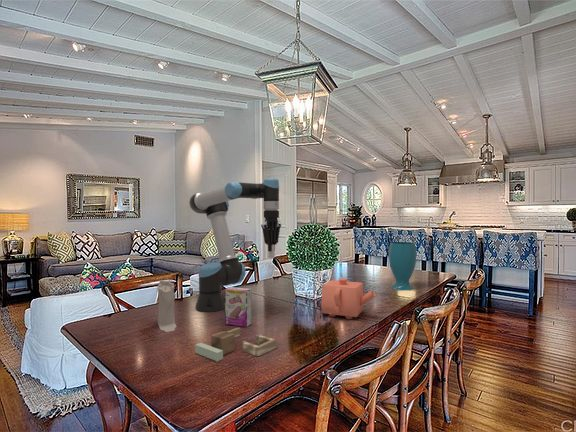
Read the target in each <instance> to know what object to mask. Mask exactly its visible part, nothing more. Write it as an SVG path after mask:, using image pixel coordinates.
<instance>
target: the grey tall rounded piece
mask: <svg viewBox="0 0 576 432" xmlns="http://www.w3.org/2000/svg"><path fill="white" fill-rule="evenodd" d="M158 282H159V283H158V285H157V297H158V312H157V313H158V315H157V326H158V328H159V330H160V331H164V332H165V333H168V332H174V331H176V330H175V329H176V328H177V324H176V319H175V283H174V282H171V281H170V280H159V281H158Z"/></svg>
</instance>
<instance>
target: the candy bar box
mask: <svg viewBox="0 0 576 432" xmlns="http://www.w3.org/2000/svg"><path fill="white" fill-rule="evenodd" d="M224 291H225V292H224V299H225V300H224V302H225V308H224V310H225V311H224V317H225V318H224V325H228V326H235V327H240V328H241V327H243V328H248V327H249V326H250V325H252V288H245V287H234V286H229V287H226V288H225V289H224Z"/></svg>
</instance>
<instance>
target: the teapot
mask: <svg viewBox="0 0 576 432" xmlns="http://www.w3.org/2000/svg"><path fill="white" fill-rule="evenodd" d="M376 296H377V295H376V293H375V292H374V291H373V290H370V291H368V292H367V293H365V294H364V283H363V282H360V281H359V282H358V281H356V282H355V281H348V279H347V278H346V277H345V278H344V277H341V278H338V280H332V279H331V280H329V281H327V282H325V284H323V285H322V287H321V303H320V304H321V313H322V314H326V315H327V314H328V317H330V318H335V317H336V316H341V317H342V316H343V317H345V319H346V320H352V319H353V318H358V317H359V315H360V314H361V313H362V312H363V311H364V305H365V304H366V303H368V302H369V301H371V300H372V299H374V298H376Z"/></svg>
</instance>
